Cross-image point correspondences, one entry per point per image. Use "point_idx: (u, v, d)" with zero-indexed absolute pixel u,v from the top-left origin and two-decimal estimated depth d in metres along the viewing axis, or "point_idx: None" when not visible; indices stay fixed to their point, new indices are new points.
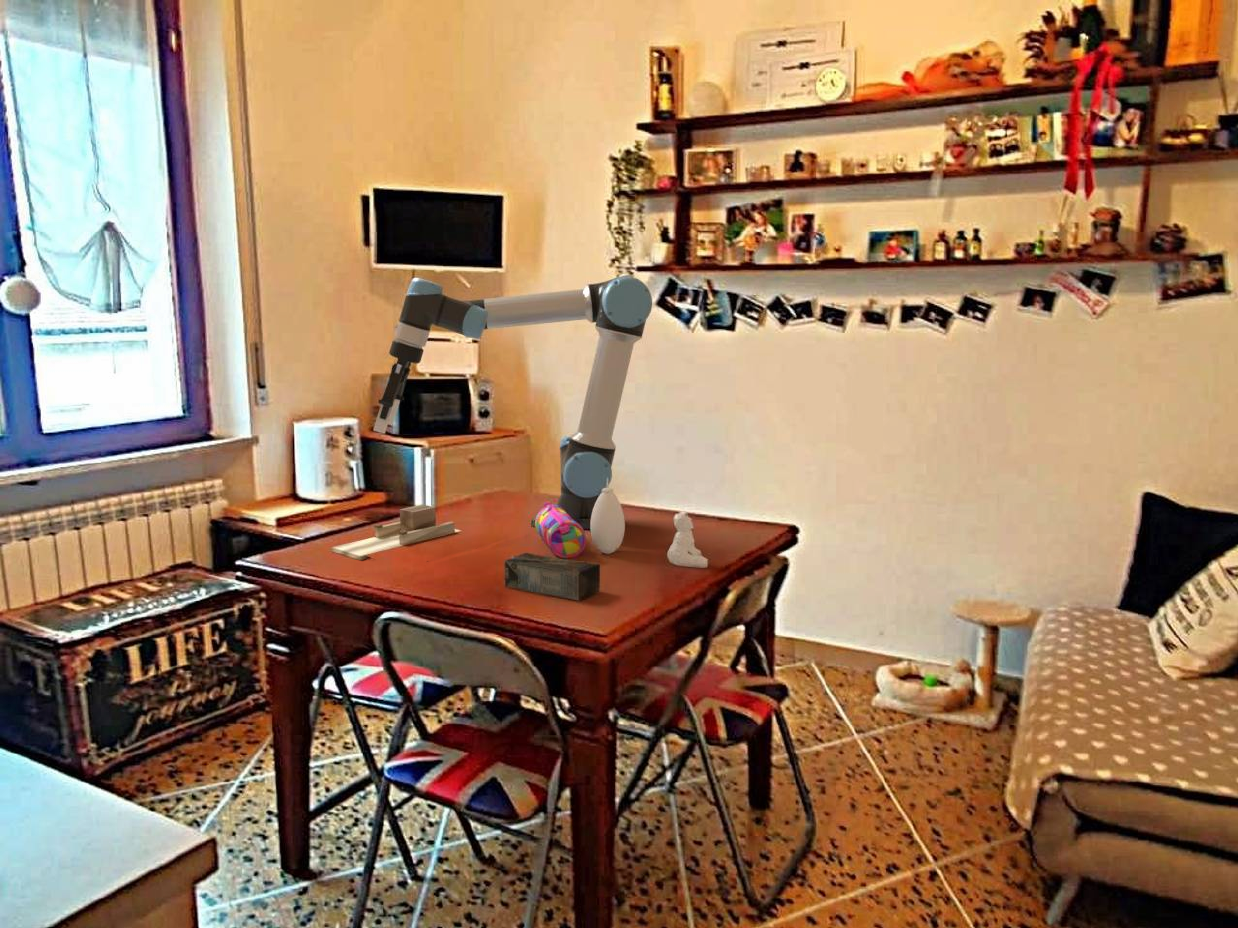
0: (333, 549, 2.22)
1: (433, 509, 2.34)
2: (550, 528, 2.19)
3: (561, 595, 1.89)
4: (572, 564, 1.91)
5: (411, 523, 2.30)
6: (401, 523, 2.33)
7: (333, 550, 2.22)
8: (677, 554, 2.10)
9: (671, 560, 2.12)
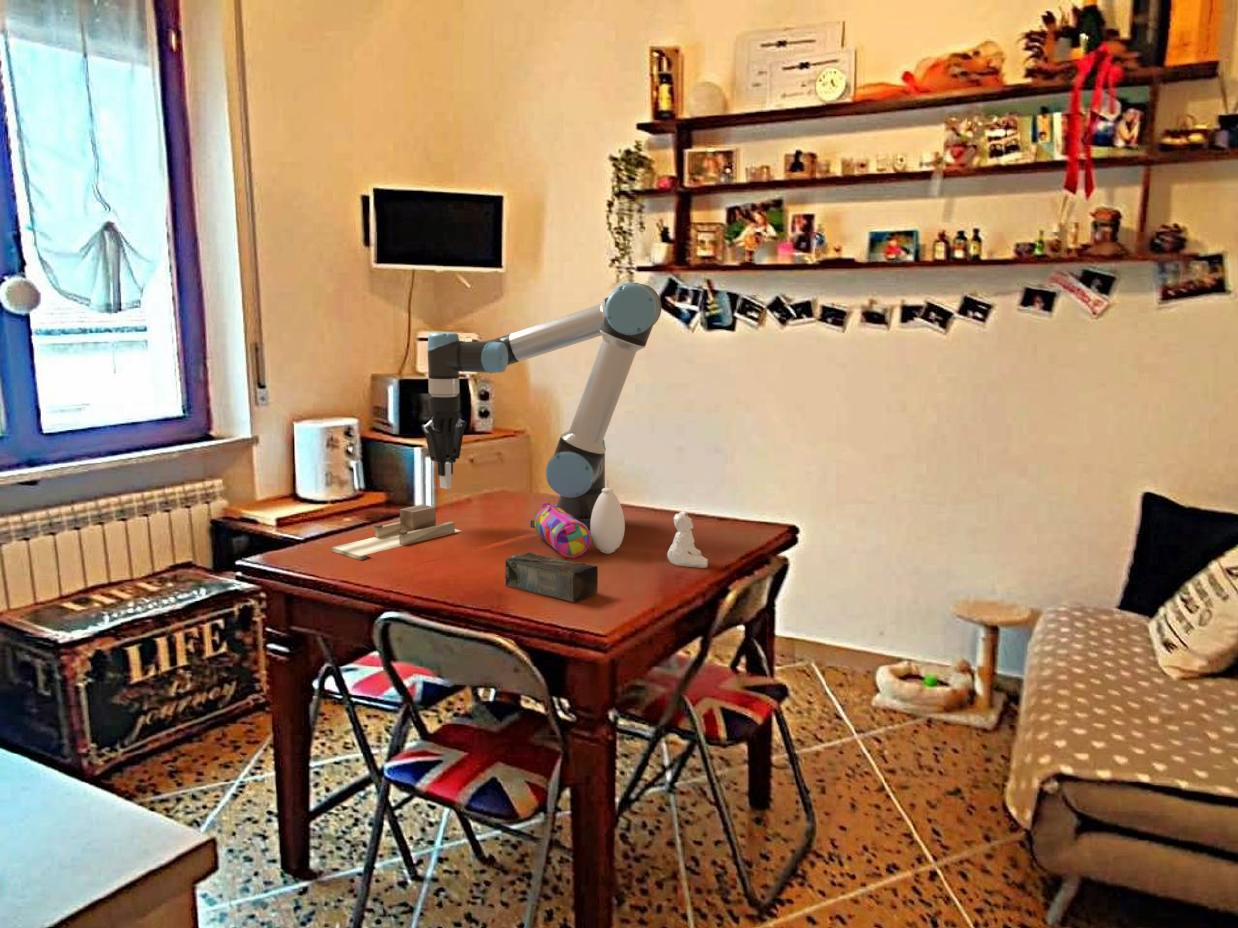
0: (333, 549, 2.22)
1: (433, 509, 2.34)
2: (554, 528, 2.19)
3: (557, 596, 1.88)
4: (569, 565, 1.90)
5: (411, 523, 2.30)
6: (401, 523, 2.33)
7: (333, 550, 2.22)
8: (677, 554, 2.10)
9: (671, 560, 2.12)
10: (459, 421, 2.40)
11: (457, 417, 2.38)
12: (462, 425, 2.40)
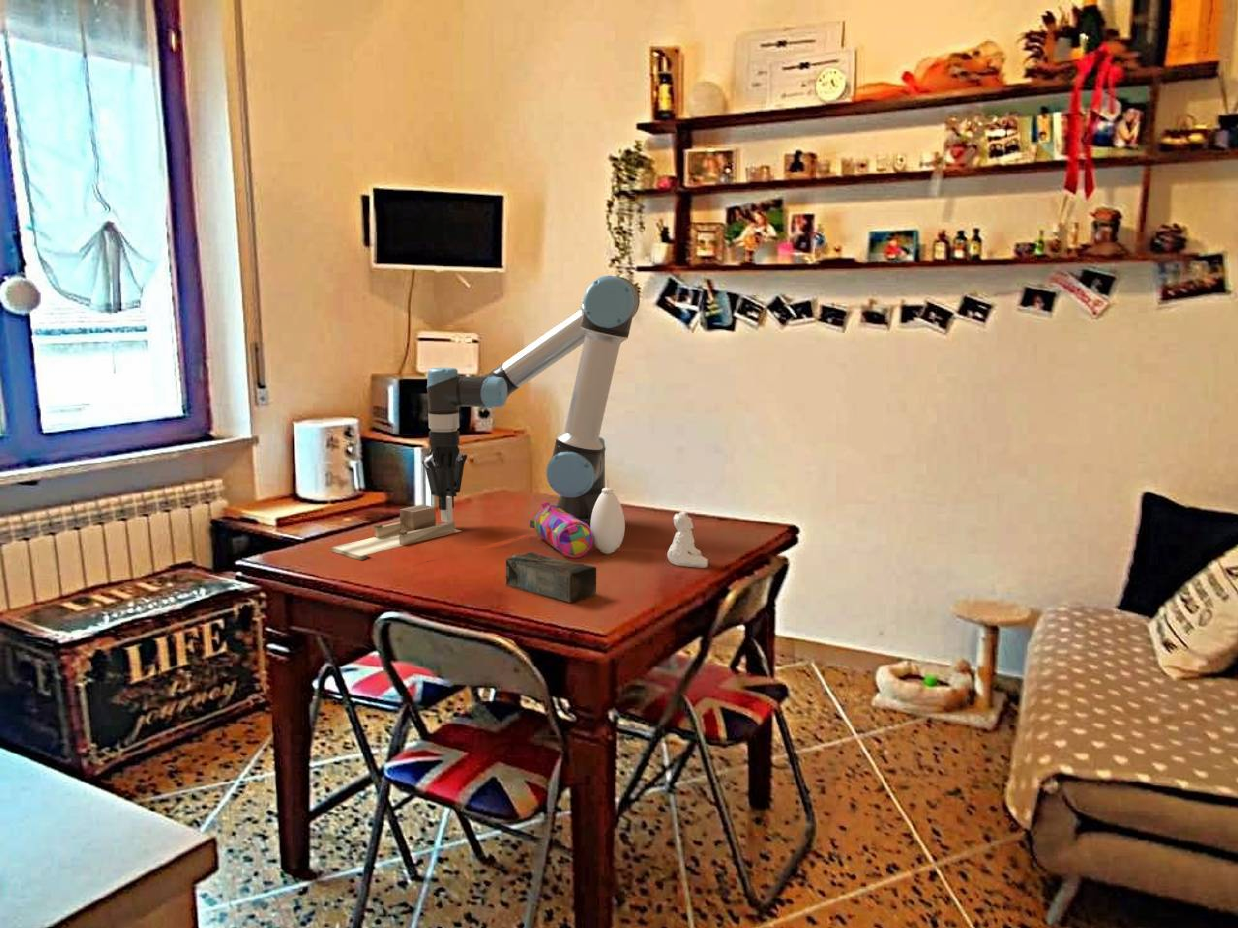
0: (333, 549, 2.22)
1: (433, 509, 2.34)
2: (556, 528, 2.19)
3: (554, 596, 1.88)
4: (567, 566, 1.90)
5: (411, 523, 2.30)
6: (401, 523, 2.33)
7: (333, 550, 2.22)
8: (677, 554, 2.10)
9: (671, 560, 2.12)
10: (459, 455, 2.41)
11: (457, 451, 2.40)
12: (462, 459, 2.41)
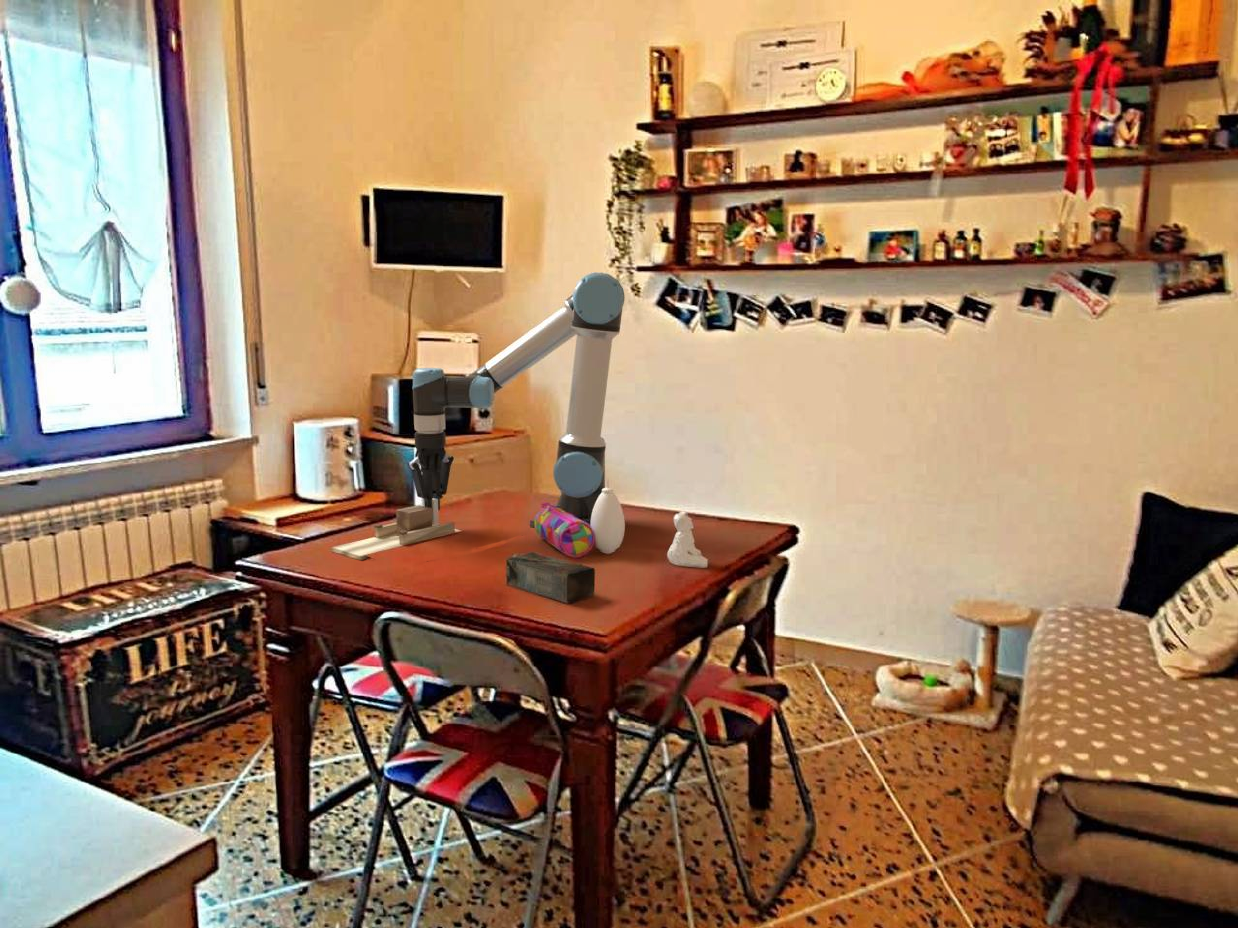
0: (333, 549, 2.22)
1: (429, 510, 2.33)
2: (558, 528, 2.19)
3: (552, 596, 1.88)
4: (566, 566, 1.89)
5: (407, 524, 2.29)
6: (397, 524, 2.32)
7: (333, 550, 2.22)
8: (677, 554, 2.10)
9: (671, 560, 2.12)
10: (445, 456, 2.38)
11: (443, 453, 2.36)
12: (449, 460, 2.38)
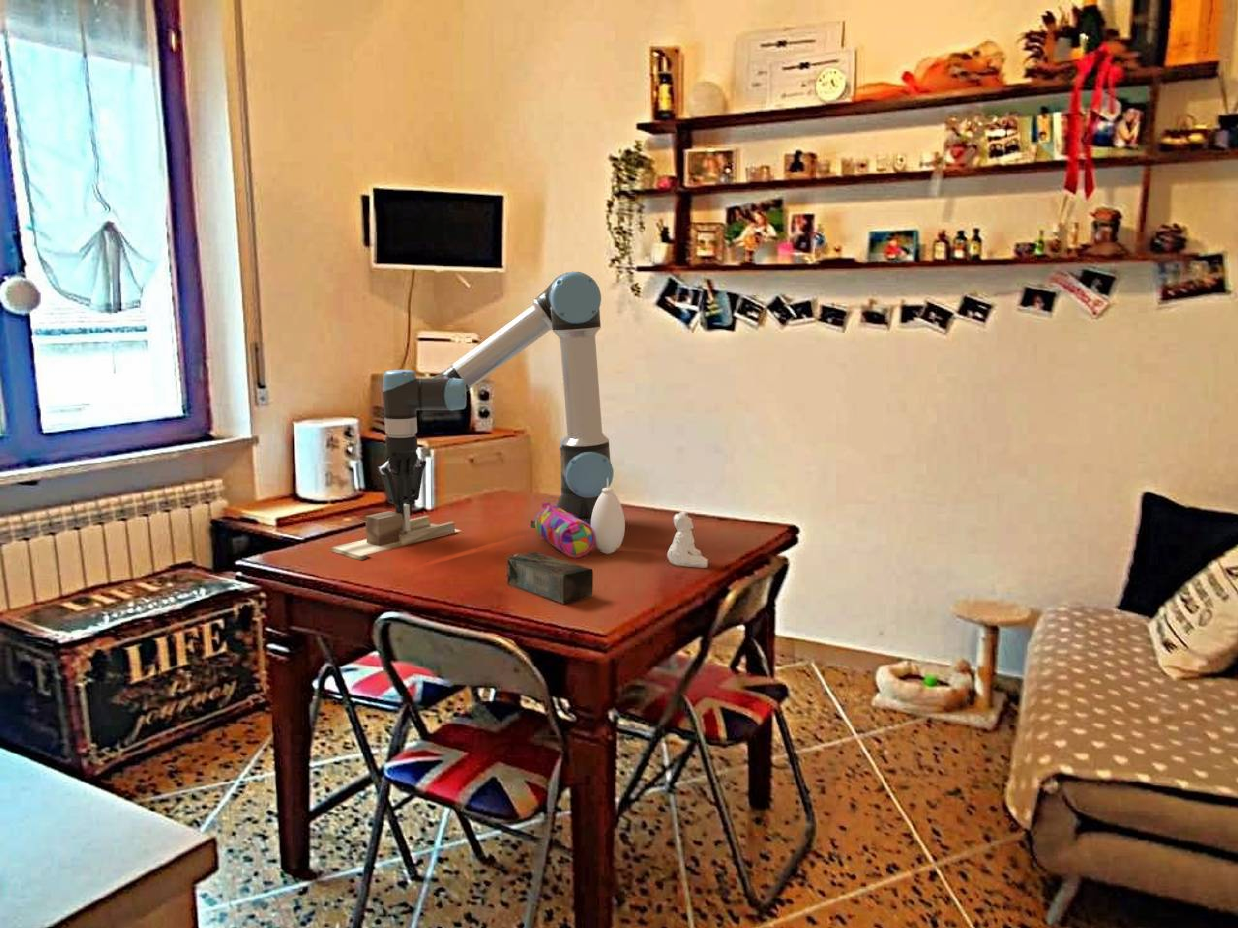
0: (333, 549, 2.22)
1: (400, 516, 2.27)
2: (558, 528, 2.19)
3: (549, 597, 1.88)
4: (564, 567, 1.89)
5: (376, 530, 2.23)
6: (367, 530, 2.26)
7: (333, 550, 2.22)
8: (677, 554, 2.10)
9: (671, 560, 2.12)
10: (417, 461, 2.31)
11: (415, 457, 2.30)
12: (421, 465, 2.31)
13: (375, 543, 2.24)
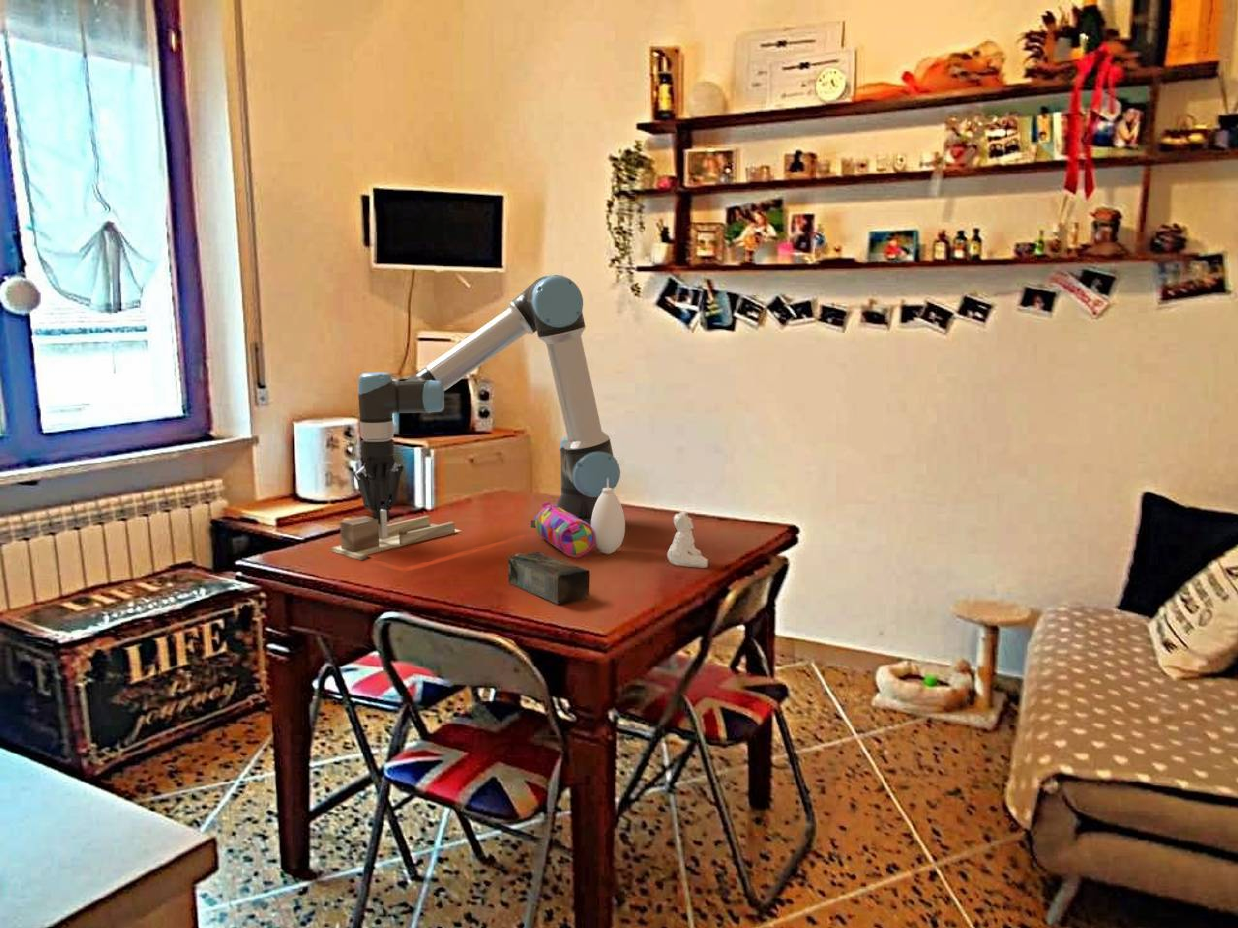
0: (333, 549, 2.22)
1: (376, 521, 2.22)
2: (558, 528, 2.19)
3: (545, 597, 1.88)
4: (561, 567, 1.89)
5: (351, 536, 2.18)
6: (341, 536, 2.20)
7: (333, 550, 2.22)
8: (677, 554, 2.10)
9: (671, 560, 2.12)
10: (394, 465, 2.26)
11: (392, 461, 2.25)
12: (398, 470, 2.26)
13: (350, 549, 2.19)
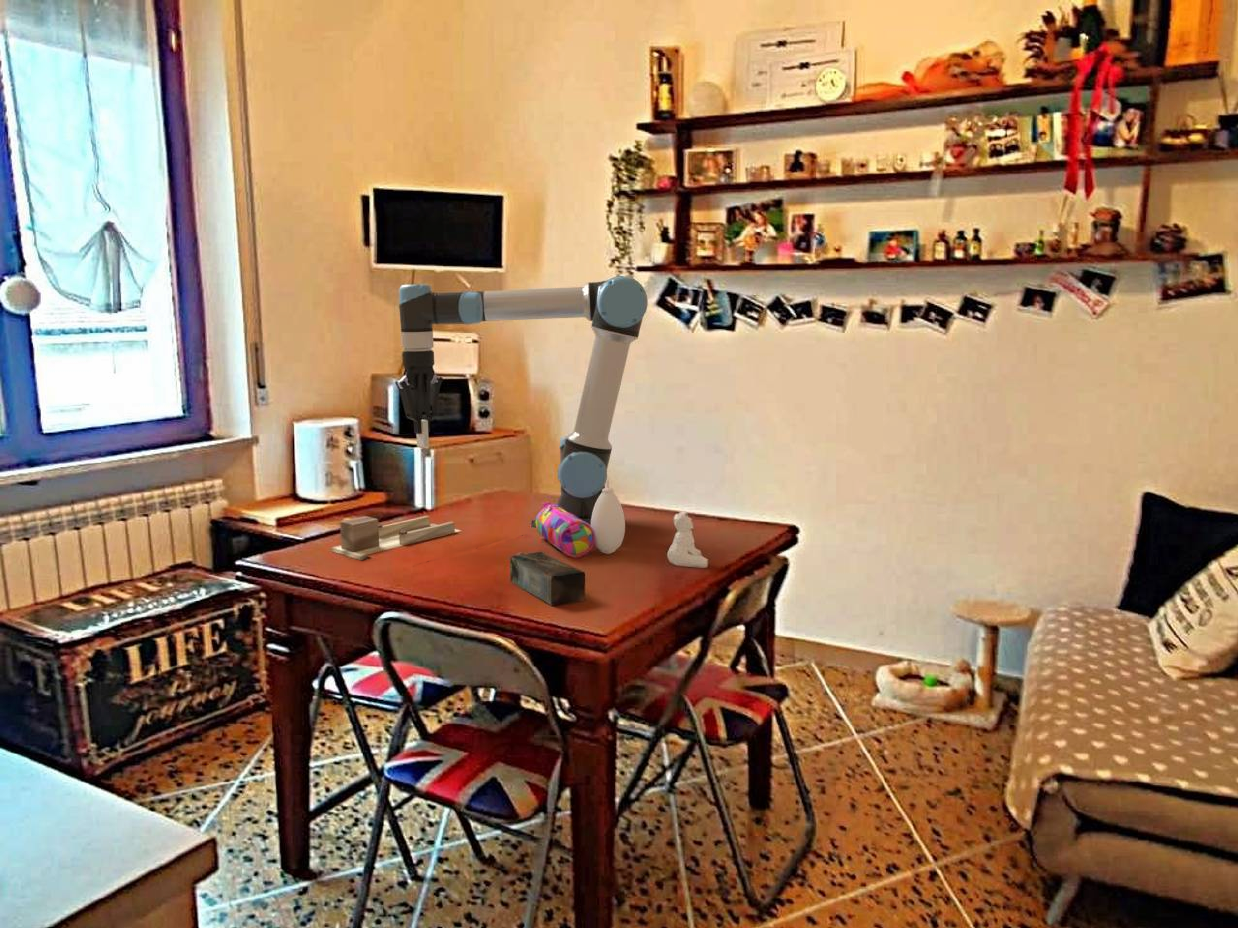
0: (333, 549, 2.22)
1: (376, 521, 2.22)
2: (558, 528, 2.19)
3: (540, 597, 1.88)
4: (557, 568, 1.88)
5: (351, 536, 2.18)
6: (341, 536, 2.20)
7: (333, 550, 2.22)
8: (677, 554, 2.10)
9: (671, 560, 2.12)
10: (434, 377, 2.32)
11: (432, 373, 2.30)
12: (438, 381, 2.32)
13: (350, 549, 2.19)
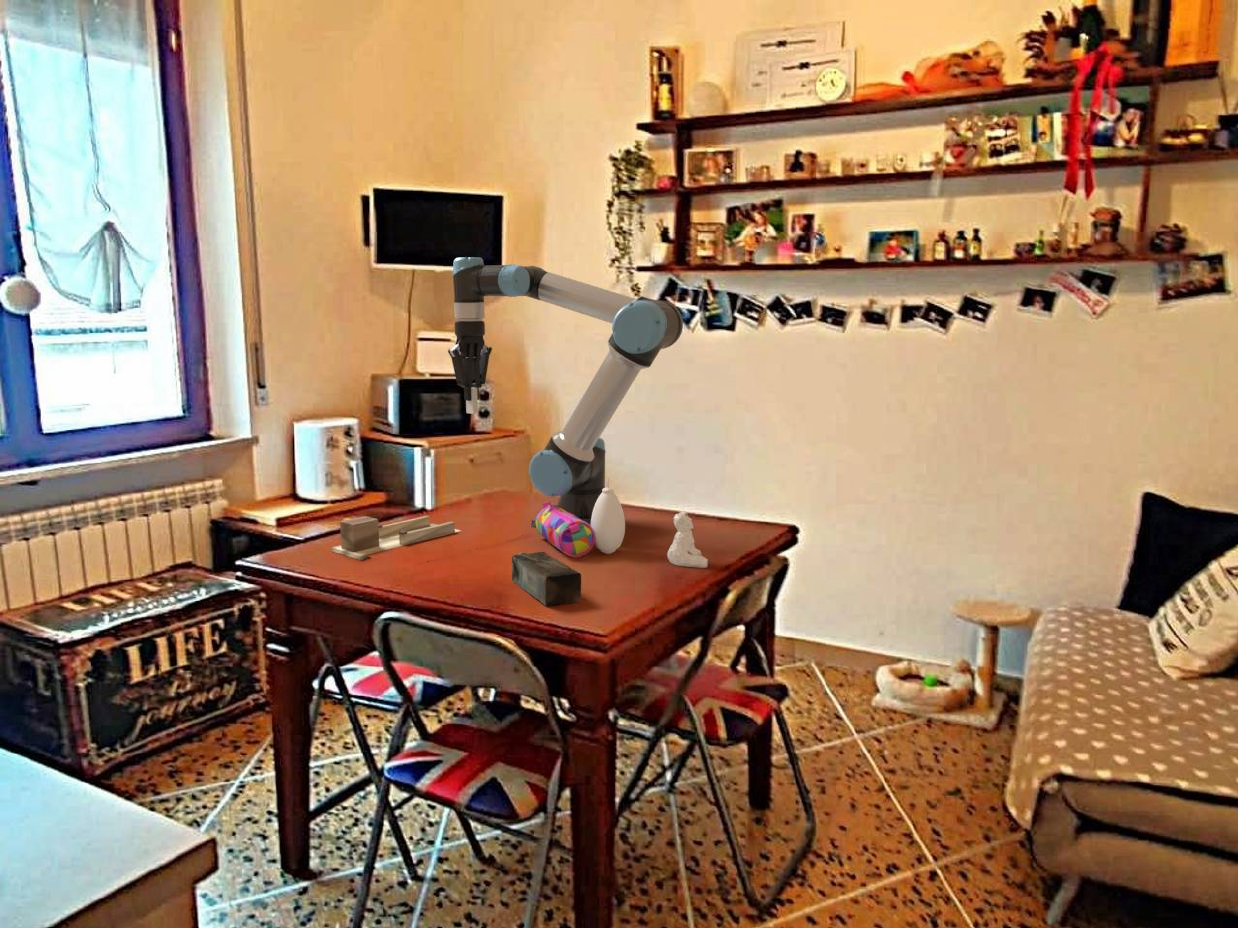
0: (333, 549, 2.22)
1: (376, 521, 2.22)
2: (558, 528, 2.19)
3: (536, 597, 1.87)
4: (554, 568, 1.88)
5: (351, 536, 2.18)
6: (341, 536, 2.20)
7: (333, 550, 2.22)
8: (677, 554, 2.10)
9: (671, 560, 2.12)
10: (484, 347, 2.43)
11: (482, 342, 2.41)
12: (487, 351, 2.43)
13: (350, 549, 2.19)
